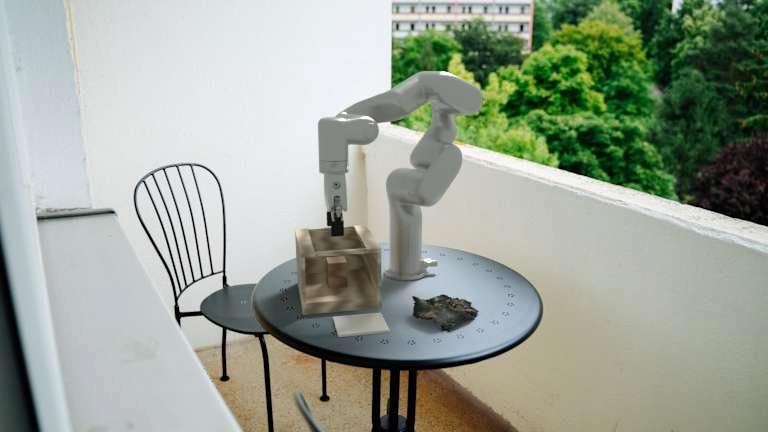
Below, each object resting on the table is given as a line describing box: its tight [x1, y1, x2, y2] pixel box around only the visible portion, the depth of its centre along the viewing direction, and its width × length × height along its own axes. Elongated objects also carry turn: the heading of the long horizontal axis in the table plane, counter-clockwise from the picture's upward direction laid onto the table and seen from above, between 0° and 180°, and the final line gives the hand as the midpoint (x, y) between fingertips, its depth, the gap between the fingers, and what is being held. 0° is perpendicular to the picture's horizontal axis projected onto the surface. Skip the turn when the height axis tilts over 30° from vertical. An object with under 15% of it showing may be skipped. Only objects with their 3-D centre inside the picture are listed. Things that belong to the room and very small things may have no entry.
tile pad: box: [332, 312, 390, 338], centre depth 139 cm, size 12×10×1 cm
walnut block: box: [326, 256, 348, 289], centre depth 155 cm, size 5×5×7 cm
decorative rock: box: [411, 294, 479, 333], centre depth 144 cm, size 19×6×15 cm
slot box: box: [294, 224, 383, 316], centre depth 155 cm, size 20×22×16 cm
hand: (335, 230), depth 152 cm, fingers open, 9 cm apart
